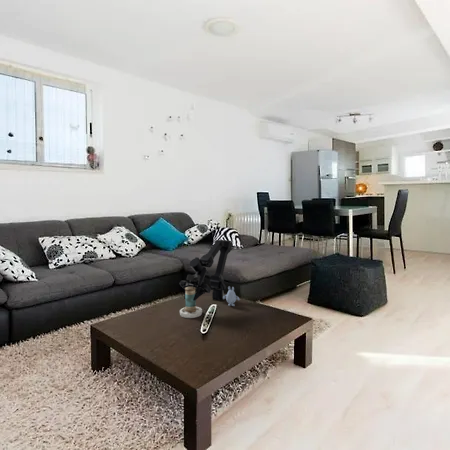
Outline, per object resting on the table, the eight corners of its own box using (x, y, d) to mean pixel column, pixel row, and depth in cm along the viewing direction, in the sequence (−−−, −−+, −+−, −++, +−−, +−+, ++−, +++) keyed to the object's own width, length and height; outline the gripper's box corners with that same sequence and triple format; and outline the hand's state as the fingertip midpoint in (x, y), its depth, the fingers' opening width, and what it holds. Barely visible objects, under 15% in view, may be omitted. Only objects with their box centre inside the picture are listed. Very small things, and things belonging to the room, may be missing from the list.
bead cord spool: (195, 307, 201) (195, 286, 200) (197, 311, 195) (196, 289, 193) (184, 308, 200) (184, 286, 198) (185, 312, 194) (185, 290, 192)
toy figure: (241, 304, 211) (240, 285, 210) (238, 308, 206) (238, 288, 204) (224, 303, 215) (224, 284, 213) (221, 306, 209) (221, 287, 207)
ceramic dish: (203, 310, 203) (203, 306, 203) (199, 318, 191) (199, 314, 190) (183, 309, 205) (183, 306, 204) (177, 317, 193) (177, 313, 192)
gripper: (180, 267, 203) (169, 290, 195) (207, 270, 193) (196, 295, 185) (189, 276, 210) (178, 299, 202) (215, 280, 201) (205, 304, 193)
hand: (189, 299), depth 195 cm, fingers closed on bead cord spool, 6 cm apart
